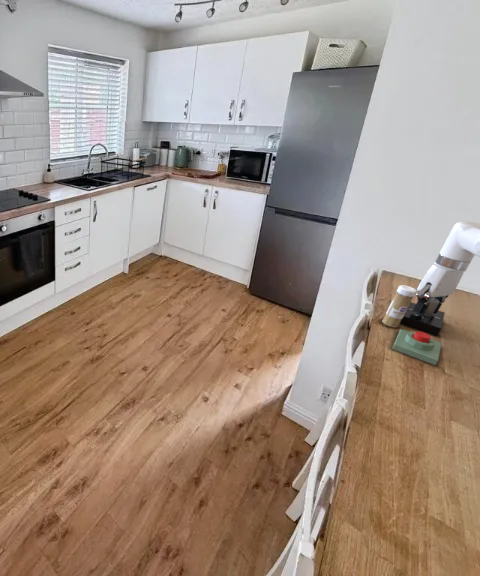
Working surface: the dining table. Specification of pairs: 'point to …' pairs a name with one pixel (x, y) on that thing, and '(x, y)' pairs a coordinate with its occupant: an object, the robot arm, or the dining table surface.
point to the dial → (431, 307)
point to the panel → (423, 321)
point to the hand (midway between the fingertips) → (424, 312)
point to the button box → (417, 347)
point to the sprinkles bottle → (399, 306)
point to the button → (422, 337)
